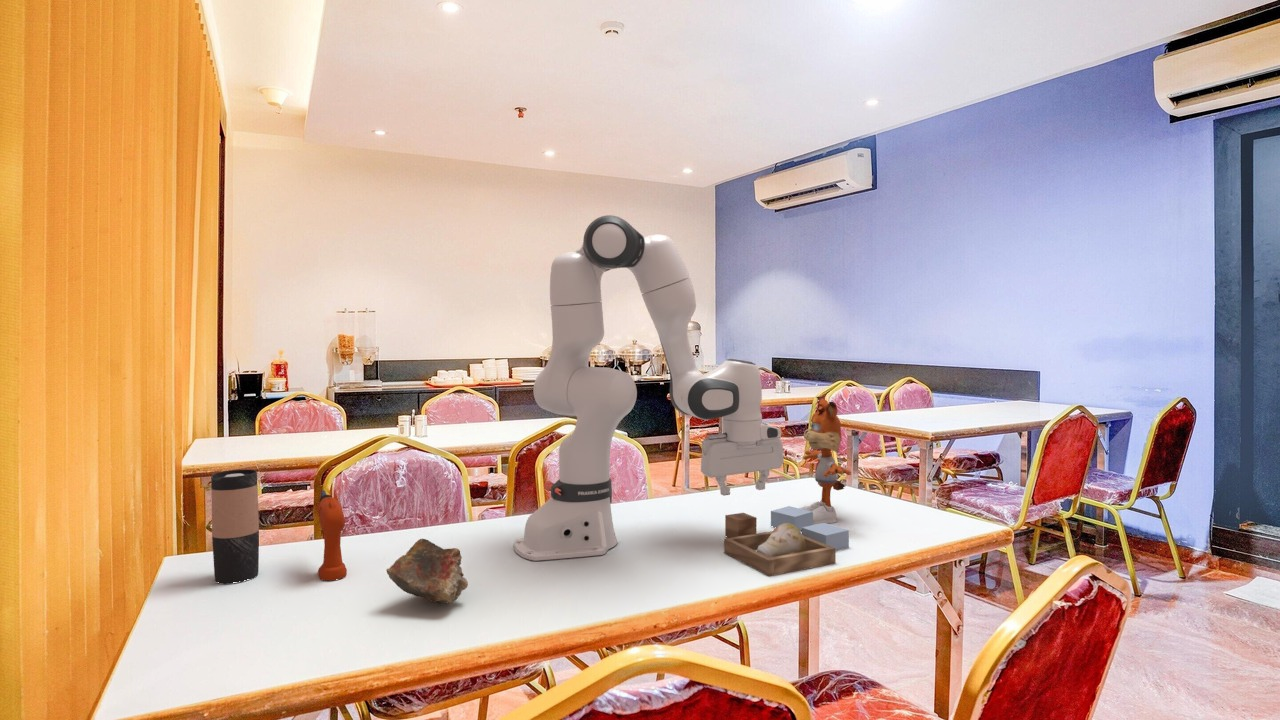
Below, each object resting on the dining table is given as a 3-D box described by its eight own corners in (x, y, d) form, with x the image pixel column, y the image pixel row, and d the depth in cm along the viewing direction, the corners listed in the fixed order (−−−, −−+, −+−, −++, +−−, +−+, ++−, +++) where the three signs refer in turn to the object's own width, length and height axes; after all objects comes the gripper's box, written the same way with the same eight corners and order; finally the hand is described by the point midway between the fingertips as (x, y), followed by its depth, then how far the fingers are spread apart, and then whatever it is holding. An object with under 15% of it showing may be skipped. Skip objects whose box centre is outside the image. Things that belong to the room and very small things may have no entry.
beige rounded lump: (745, 561, 136) (757, 514, 140) (783, 577, 140) (793, 530, 143) (768, 563, 130) (779, 513, 134) (806, 579, 133) (816, 530, 137)
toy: (788, 504, 182) (788, 393, 181) (830, 504, 182) (830, 393, 181) (812, 536, 152) (812, 404, 151) (862, 536, 152) (863, 404, 151)
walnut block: (737, 542, 148) (737, 520, 148) (725, 536, 153) (725, 515, 153) (756, 539, 151) (756, 517, 150) (743, 534, 155) (743, 512, 155)
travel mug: (263, 568, 133) (260, 468, 132) (256, 581, 126) (253, 475, 125) (218, 573, 130) (215, 471, 129) (208, 587, 123) (206, 478, 122)
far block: (794, 533, 156) (794, 516, 155) (770, 527, 161) (770, 510, 161) (812, 528, 160) (812, 511, 160) (788, 522, 165) (789, 506, 165)
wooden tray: (768, 576, 127) (768, 560, 127) (724, 552, 141) (724, 538, 141) (835, 563, 134) (835, 548, 134) (786, 542, 148) (786, 528, 148)
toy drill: (335, 544, 143) (335, 476, 141) (349, 582, 127) (349, 507, 125) (310, 548, 141) (309, 479, 139) (321, 587, 125) (320, 510, 123)
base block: (826, 554, 141) (826, 535, 141) (801, 545, 147) (801, 527, 147) (848, 548, 145) (848, 530, 144) (823, 540, 151) (824, 522, 150)
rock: (442, 585, 123) (441, 531, 123) (488, 600, 116) (487, 543, 116) (382, 607, 113) (381, 549, 113) (429, 625, 106) (428, 563, 106)
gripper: (709, 437, 143) (710, 501, 144) (787, 429, 152) (787, 489, 153) (694, 433, 149) (695, 494, 150) (770, 425, 158) (771, 483, 158)
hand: (743, 492), depth 151 cm, fingers open, 8 cm apart
